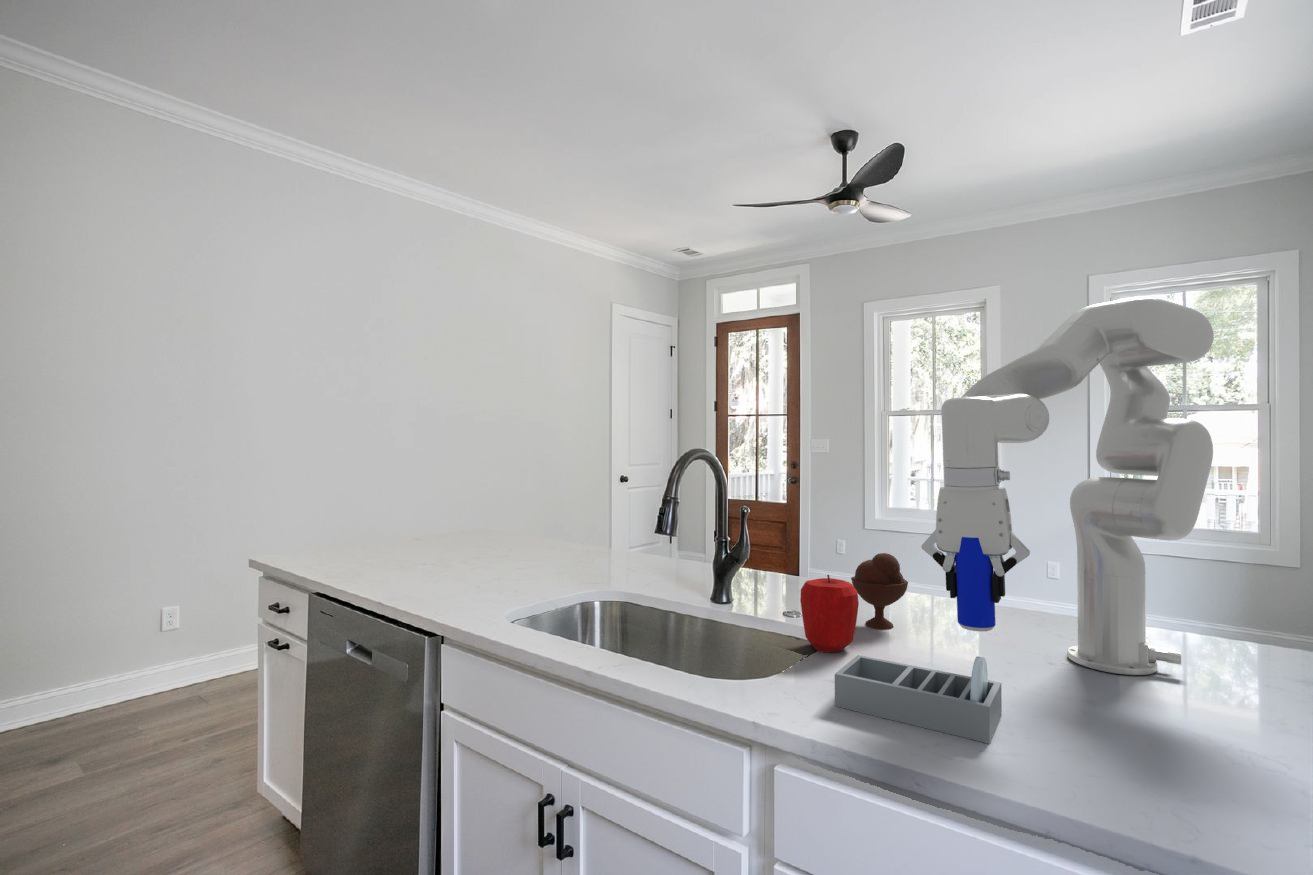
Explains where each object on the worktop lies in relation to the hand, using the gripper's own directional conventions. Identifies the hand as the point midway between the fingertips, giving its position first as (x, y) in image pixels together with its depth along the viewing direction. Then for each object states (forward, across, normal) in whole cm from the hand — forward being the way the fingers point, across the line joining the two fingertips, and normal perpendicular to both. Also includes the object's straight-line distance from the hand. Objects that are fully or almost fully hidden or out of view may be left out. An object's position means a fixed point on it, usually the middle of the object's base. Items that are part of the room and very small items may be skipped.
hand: (975, 597), depth 98 cm
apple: (+14, +26, -7) cm, 30 cm away
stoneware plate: (+13, -2, +13) cm, 18 cm away
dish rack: (+14, +6, +13) cm, 20 cm away
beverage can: (+5, 0, 0) cm, 5 cm away
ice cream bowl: (+15, +23, -26) cm, 38 cm away
